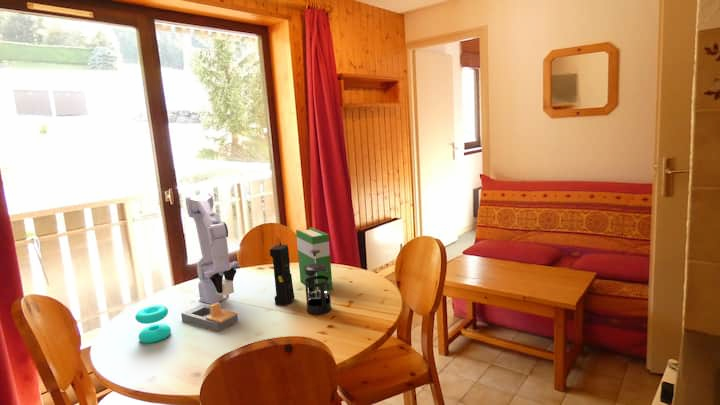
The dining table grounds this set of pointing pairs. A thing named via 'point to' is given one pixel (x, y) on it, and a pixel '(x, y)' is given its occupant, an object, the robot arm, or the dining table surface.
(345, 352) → the dining table surface
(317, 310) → the french press
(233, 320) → the grey recessed box
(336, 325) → the dining table surface
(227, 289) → the beige rectangular block
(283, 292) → the portable radio
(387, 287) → the dining table surface
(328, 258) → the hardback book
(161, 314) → the cyan discs
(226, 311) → the shutter
